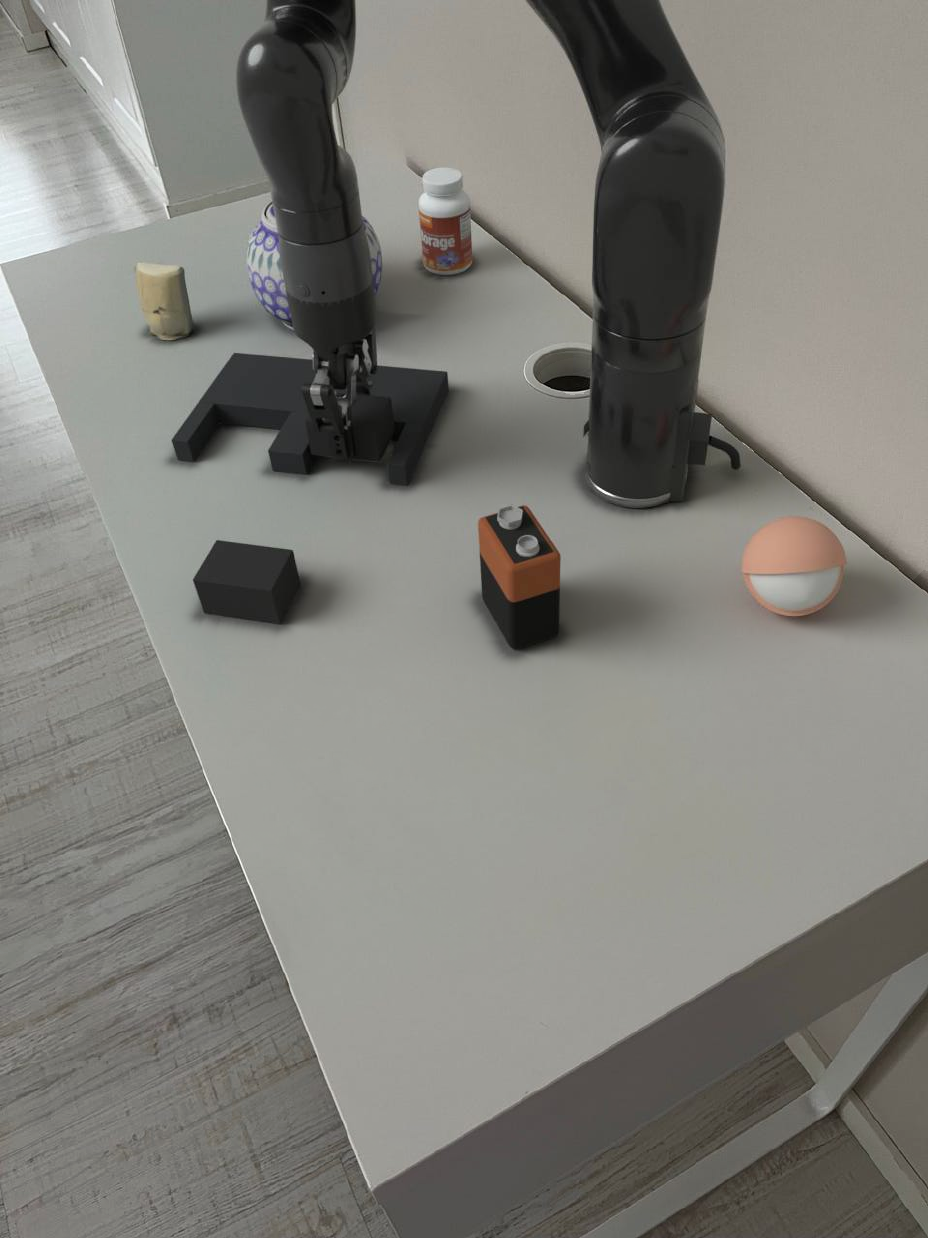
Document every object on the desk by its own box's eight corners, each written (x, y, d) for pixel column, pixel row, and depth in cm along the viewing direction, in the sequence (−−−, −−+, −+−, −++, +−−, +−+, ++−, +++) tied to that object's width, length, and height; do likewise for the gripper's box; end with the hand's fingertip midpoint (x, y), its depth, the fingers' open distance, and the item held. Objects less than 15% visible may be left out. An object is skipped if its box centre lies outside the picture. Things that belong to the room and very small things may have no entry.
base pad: (449, 391, 108) (447, 371, 106) (407, 486, 97) (405, 465, 96) (238, 372, 113) (233, 352, 111) (177, 460, 102) (170, 439, 100)
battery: (527, 583, 87) (526, 492, 80) (561, 637, 83) (563, 545, 76) (480, 598, 86) (474, 507, 79) (511, 653, 82) (509, 562, 75)
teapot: (419, 346, 115) (407, 215, 104) (287, 380, 111) (259, 249, 100) (353, 251, 131) (336, 130, 120) (236, 278, 128) (208, 156, 117)
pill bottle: (414, 271, 127) (405, 181, 119) (438, 249, 130) (431, 161, 122) (458, 280, 124) (453, 190, 116) (481, 257, 128) (477, 168, 120)
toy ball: (748, 639, 82) (764, 566, 76) (724, 572, 87) (737, 500, 81) (848, 630, 82) (871, 557, 76) (818, 564, 87) (837, 491, 81)
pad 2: (395, 431, 100) (391, 397, 98) (380, 462, 97) (375, 427, 94) (328, 424, 102) (322, 390, 99) (311, 454, 98) (304, 420, 96)
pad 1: (301, 583, 89) (293, 549, 86) (280, 624, 86) (271, 590, 83) (226, 573, 90) (216, 539, 87) (203, 613, 87) (192, 579, 84)
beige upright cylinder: (194, 315, 122) (177, 251, 116) (203, 335, 119) (186, 271, 113) (146, 326, 121) (127, 262, 115) (154, 347, 117) (134, 283, 112)
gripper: (343, 323, 81) (368, 491, 94) (394, 240, 91) (411, 402, 103) (255, 316, 83) (291, 482, 95) (314, 235, 92) (340, 395, 105)
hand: (353, 439), depth 99 cm, fingers closed on pad 2, 5 cm apart
